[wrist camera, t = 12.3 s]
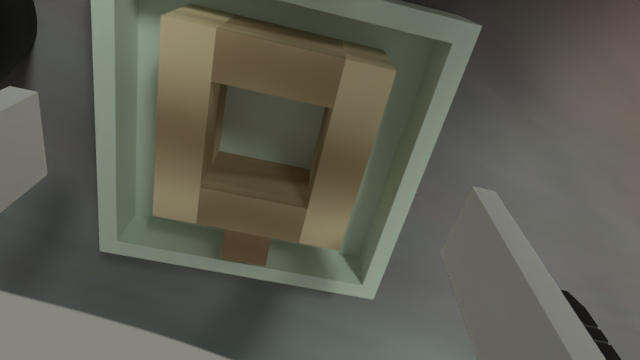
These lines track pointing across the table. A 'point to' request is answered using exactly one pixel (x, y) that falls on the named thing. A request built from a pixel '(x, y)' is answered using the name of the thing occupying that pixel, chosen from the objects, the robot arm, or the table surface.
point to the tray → (274, 133)
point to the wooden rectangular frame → (250, 173)
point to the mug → (15, 32)
